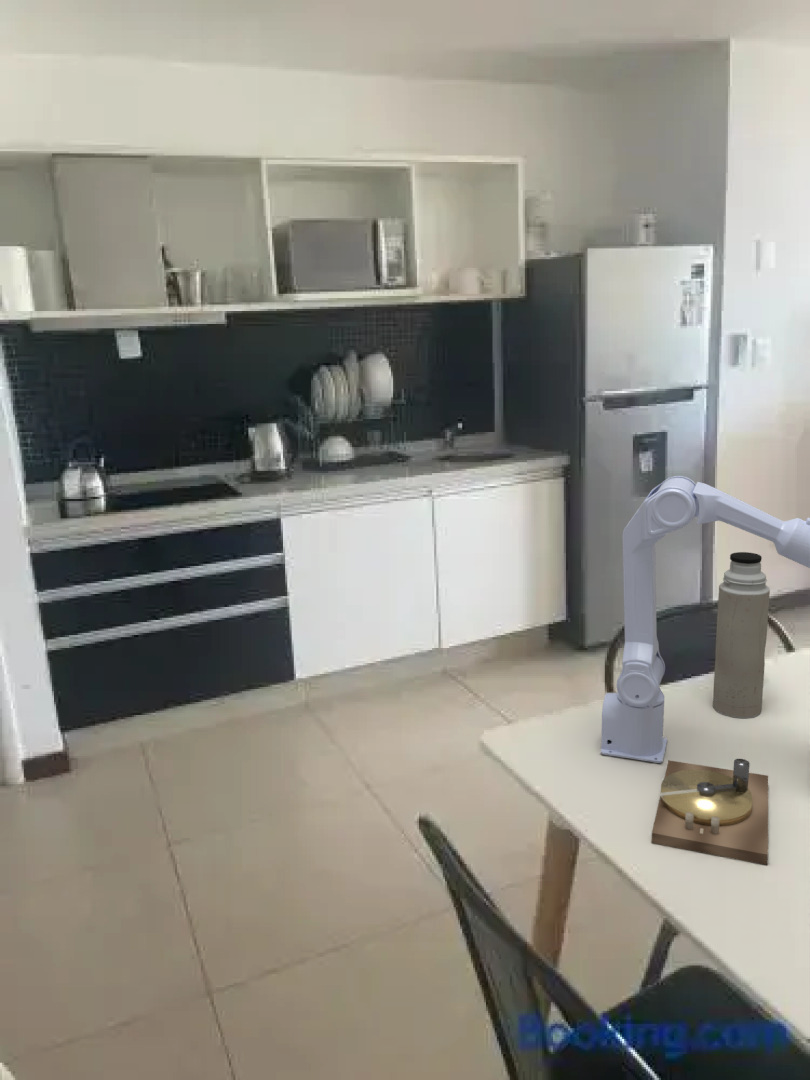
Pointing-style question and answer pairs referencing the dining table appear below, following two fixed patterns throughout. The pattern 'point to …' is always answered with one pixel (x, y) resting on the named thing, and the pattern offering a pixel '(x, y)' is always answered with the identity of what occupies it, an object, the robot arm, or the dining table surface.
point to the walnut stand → (713, 839)
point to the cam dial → (709, 794)
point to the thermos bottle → (741, 638)
